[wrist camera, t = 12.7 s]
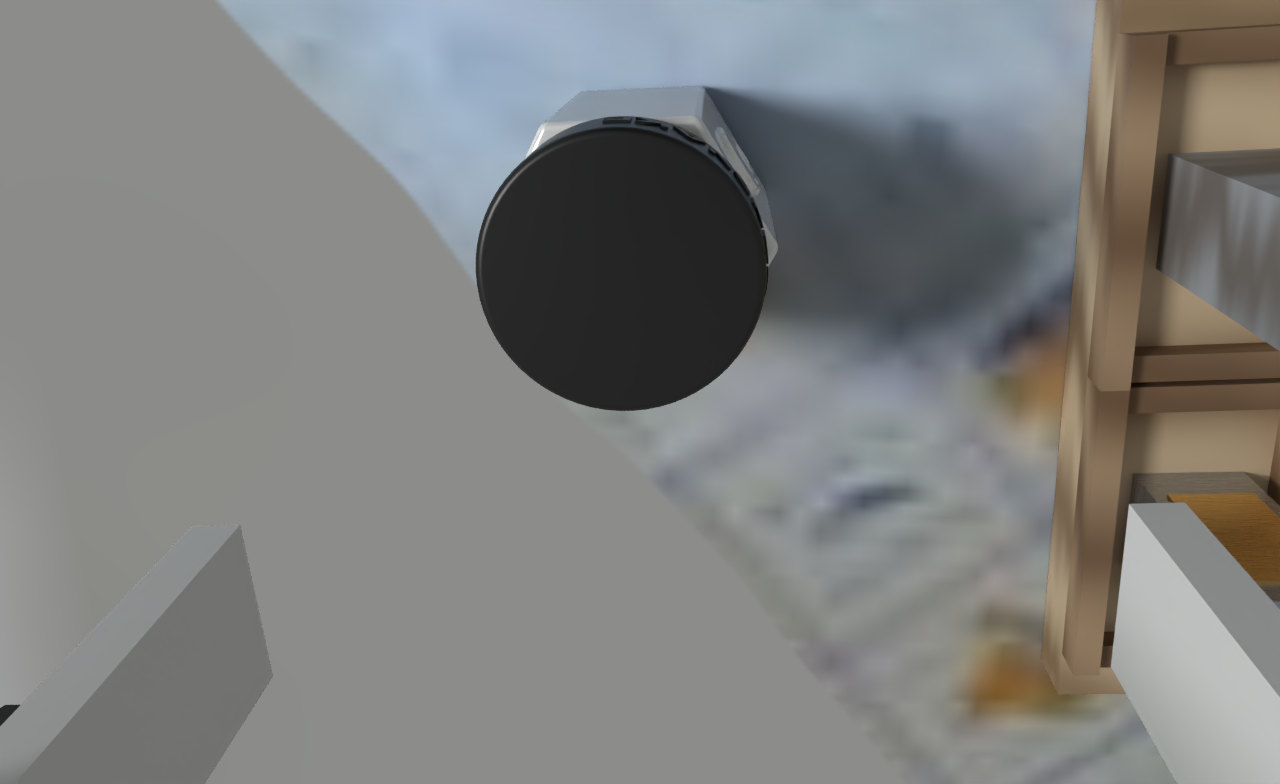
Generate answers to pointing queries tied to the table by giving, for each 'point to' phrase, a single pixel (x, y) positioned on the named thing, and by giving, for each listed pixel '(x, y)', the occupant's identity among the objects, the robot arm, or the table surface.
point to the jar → (627, 249)
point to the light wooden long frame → (1165, 293)
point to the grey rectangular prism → (1225, 516)
